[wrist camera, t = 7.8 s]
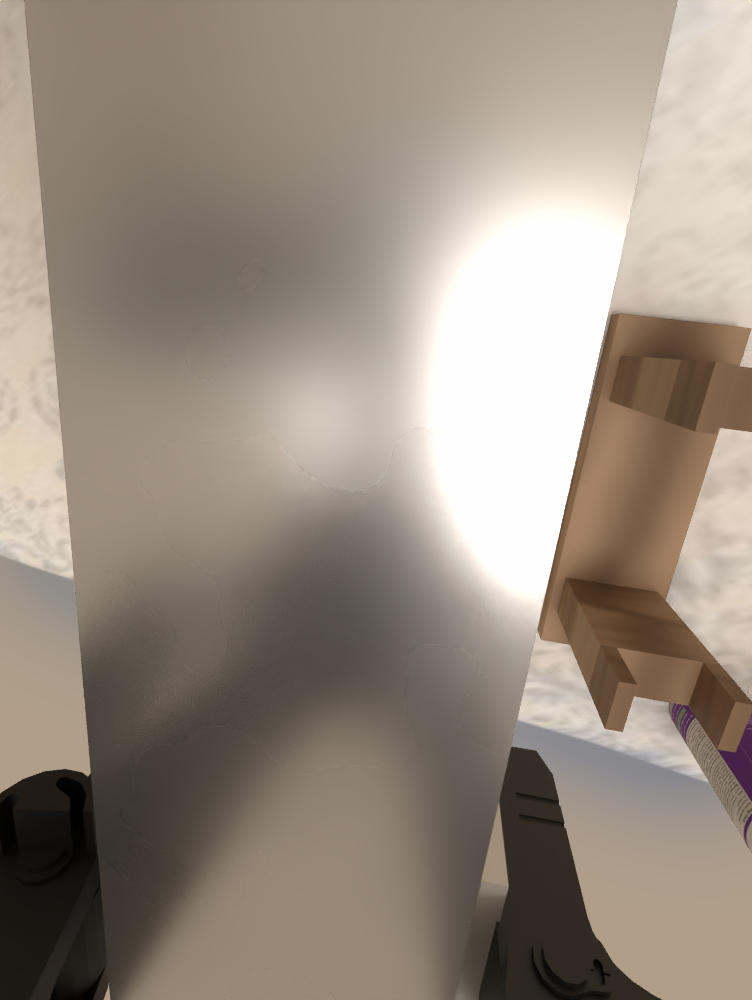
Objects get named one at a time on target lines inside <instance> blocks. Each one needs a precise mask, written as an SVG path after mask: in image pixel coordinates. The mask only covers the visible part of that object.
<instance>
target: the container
mask: <svg viewBox="0 0 752 1000" xmlns="http://www.w3.org/2000/svg"><path fill="white" fill-rule="evenodd" d="M669 712H670V716H671V719H672V720H673V722H674V724H675V726H676V727H677V729H678V731H679V732H680V734H681V736H682V737H683V739H684V741H685V743H686V744H687V746H688V748H689V749H690V751H691V753H692V754H693V756H694V758H695V759H696V761H697V763H698V764H699V766H700V768H701V769H702V771H703V773H704V774H705V776H706V778H707V779H708V781H709V783H710V784H711V786H712V788H713V789H714V791H715V793H716V794H717V796H718V798H719V799H720V801H721V802H722V804H723V806H724V808H725V809H726V811H727V813H728V814H729V816H730V818H731V819H732V821H733V823H734V824H735V826H736V828H737V829H738V831H739V833H740V834H741V836H742V838H743V839H744V841H745V843H746V844H747V846H748V848H749V849H750V851H751V853H752V713H751V715H750V718H749V720H748V723H747V725H746V728H745V730H744V733H743V735H742V738H741V740H740V742H739V745H738V747H737V750H736V752H730V751H724V750H719V749H717V748H716V747H715V745H714V744H713V742H712V741H711V739H710V738H709V736H708V735H707V733H706V732H705V730H704V729H703V727H702V726H701V724H700V723H699V721H698V720H697V718H696V717H695V715H694V714H693V712H692V711H691V709H690V708H689V706H687V705H681V704H675V703H670V705H669Z"/></svg>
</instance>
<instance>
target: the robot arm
mask: <svg viewBox="0 0 752 1000" xmlns="http://www.w3.org/2000/svg"><path fill="white" fill-rule="evenodd" d="M108 984H109V977H108V965H107V954H106V942H105V930H104V919H103V907H102V896H101V884H100V872H99V861H98V849H97V837H96V826H95V814H94V803H93V791H92V779H91V774H90V775H89V776H88V777H87V776H86V775H85V774H84V773H81V772H77V771H72V770H67V769H62V770H53V771H45V772H42V773H39V774H36V775H33V776H30V777H28V778H25V779H22V780H21V781H19V782H18V783H16V784H14V785H13V786H11V787H10V788H8V789H6V790H5V791H3V792H2V793H1V794H0V1000H103V999H104V997H105V994H106V991H107V988H108ZM455 1000H661V999H660V998H658V997H656V996H654V995H652V994H650V993H649V992H648V991H646V990H645V989H643V988H642V987H640V986H639V985H637V984H636V983H634V982H633V981H632V980H631V979H629V978H628V977H627V976H626V975H625V974H624V973H623V972H622V971H621V970H620V969H619V968H618V967H617V966H616V965H615V964H614V963H613V962H612V960H611V958H610V957H609V955H608V953H607V952H606V950H605V948H604V947H603V945H602V944H601V942H600V941H599V940H598V939H597V938H596V937H595V935H594V933H593V931H592V929H591V925H590V922H589V920H588V917H587V913H586V909H585V905H584V901H583V897H582V893H581V889H580V885H579V881H578V877H577V873H576V869H575V864H574V860H573V856H572V852H571V848H570V844H569V840H568V835H567V831H566V828H564V819H563V815H562V811H561V807H560V806H559V799H558V794H557V790H556V786H555V782H554V778H553V775H552V773H551V772H550V770H549V769H548V767H547V766H546V764H545V763H544V761H543V760H542V759H541V757H540V756H539V754H538V753H537V751H534V750H528V749H523V748H517V747H511V750H510V754H509V758H508V763H507V767H506V772H505V776H504V781H503V785H502V790H501V794H500V799H499V803H498V808H497V812H496V817H495V821H494V826H493V830H492V835H491V839H490V844H489V848H488V853H487V857H486V862H485V866H484V871H483V875H482V879H481V884H480V888H479V893H478V897H477V902H476V906H475V911H474V915H473V920H472V924H471V929H470V933H469V938H468V942H467V947H466V951H465V956H464V960H463V965H462V969H461V974H460V978H459V983H458V987H457V991H456V996H455Z"/></svg>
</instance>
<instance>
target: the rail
mask: <svg viewBox="0 0 752 1000" xmlns="http://www.w3.org/2000/svg"><path fill="white" fill-rule="evenodd" d="M677 1H678V0H24V2H25V14H26V25H27V37H28V49H29V60H30V72H31V83H32V95H33V107H34V118H35V130H36V141H37V153H38V165H39V176H40V188H41V199H42V211H43V223H44V234H45V246H46V257H47V269H48V281H49V292H50V304H51V315H52V327H53V339H54V350H55V362H56V373H57V385H58V397H59V408H60V420H61V431H62V443H63V455H64V466H65V478H66V489H67V501H68V513H69V524H70V536H71V547H72V559H73V571H74V582H75V594H76V604H77V617H78V628H79V639H80V652H81V663H82V675H83V686H84V698H85V710H86V721H87V733H88V743H89V744H88V745H89V756H90V768H91V779H92V791H93V803H94V814H95V826H96V837H97V849H98V861H99V872H100V884H101V896H102V907H103V919H104V930H105V942H106V954H107V965H108V977H109V988H110V999H111V1000H455V996H456V991H457V987H458V983H459V978H460V974H461V969H462V965H463V960H464V956H465V951H466V947H467V942H468V938H469V933H470V929H471V924H472V920H473V915H474V911H475V906H476V902H477V897H478V893H479V888H480V884H481V879H482V875H483V871H484V866H485V862H486V857H487V853H488V848H489V844H490V839H491V835H492V830H493V826H494V821H495V817H496V812H497V808H498V803H499V799H500V794H501V790H502V785H503V781H504V776H505V772H506V767H507V763H508V758H509V754H510V750H511V745H512V741H513V736H514V732H515V727H516V722H517V718H518V714H519V709H520V705H521V700H522V696H523V691H524V687H525V682H526V678H527V673H528V669H529V664H530V660H531V655H532V651H533V646H534V642H535V637H536V633H537V629H538V624H539V620H540V615H541V611H542V606H543V602H544V597H545V593H546V588H547V584H548V579H549V575H550V570H551V566H552V561H553V557H554V552H555V548H556V543H557V539H558V534H559V530H560V525H561V521H562V517H563V512H564V508H565V503H566V499H567V494H568V490H569V485H570V481H571V476H572V472H573V467H574V463H575V458H576V454H577V449H578V445H579V440H580V436H581V431H582V427H583V422H584V418H585V413H586V409H587V404H588V400H589V396H590V391H591V387H592V382H593V378H594V373H595V369H596V364H597V360H598V355H599V351H600V346H601V342H602V337H603V333H604V328H605V324H606V319H607V315H608V310H609V306H610V301H611V297H612V292H613V288H614V283H615V279H616V275H617V270H618V266H619V261H620V257H621V252H622V248H623V243H624V239H625V234H626V230H627V225H628V221H629V216H630V212H631V207H632V203H633V198H634V194H635V189H636V185H637V180H638V176H639V171H640V167H641V163H642V158H643V154H644V149H645V145H646V140H647V136H648V131H649V127H650V122H651V118H652V113H653V109H654V104H655V100H656V95H657V91H658V86H659V82H660V77H661V73H662V68H663V64H664V59H665V55H666V50H667V46H668V42H669V37H670V33H671V28H672V24H673V19H674V15H675V10H676V6H677Z"/></svg>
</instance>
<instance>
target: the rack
mask: <svg viewBox="0 0 752 1000" xmlns="http://www.w3.org/2000/svg"><path fill="white" fill-rule="evenodd" d="M750 331H751V328H743V327H734V326H725V325H716V324H707V323H698V322H690V321H681V320H672V319H663V318H654V317H645V316H636V315H627V314H615V315H612V316H611V320H610V324H609V329H608V333H607V337H606V341H605V345H604V350H603V354H602V358H601V362H600V366H599V371H598V375H597V379H596V383H595V387H594V392H593V396H592V400H591V404H590V409H589V413H588V417H587V421H586V425H585V430H584V434H583V438H582V442H581V446H580V451H579V455H578V459H577V463H576V467H575V472H574V476H573V480H572V484H571V488H570V493H569V497H568V501H567V505H566V509H565V514H564V518H563V522H562V526H561V530H560V535H559V539H558V543H557V547H556V551H555V556H554V560H553V564H552V568H551V572H550V577H549V581H548V585H547V589H546V593H545V598H544V602H543V606H542V611H541V615H540V620H539V624H538V632H539V635H540V638H541V640H546V641H552V642H558V643H564V644H569V645H571V648H572V650H573V653H574V655H575V658H576V660H577V662H578V665H579V667H580V670H581V672H582V675H583V677H584V679H585V682H586V684H587V687H588V689H589V692H590V694H591V696H592V699H593V701H594V704H595V706H596V709H597V711H598V713H599V716H600V718H601V721H602V723H603V726H604V728H605V729H609V730H614V731H620V732H623V729H624V726H625V723H626V719H627V716H628V713H629V710H630V707H631V704H632V700H633V697H634V696H636V697H641V698H647V699H653V700H658V701H664V702H670V703H675V704H681V705H687V706H689V708H690V709H691V711H692V712H693V714H694V715H695V717H696V718H697V720H698V721H699V723H700V724H701V726H702V727H703V729H704V730H705V732H706V733H707V735H708V736H709V738H710V739H711V741H712V742H713V744H714V745H715V747H716V748H717V749H719V750H724V751H730V752H736V750H737V747H738V745H739V742H740V740H741V738H742V735H743V733H744V730H745V728H746V725H747V723H748V720H749V718H750V715H751V713H752V702H751V700H750V699H749V698H748V697H747V696H746V695H745V693H744V692H743V691H742V690H741V689H740V688H739V686H738V685H737V684H736V683H735V682H734V681H733V679H732V678H731V677H730V676H729V675H728V674H727V672H726V671H725V670H724V669H723V668H722V666H721V665H720V664H719V663H718V662H717V661H716V659H715V658H714V657H713V656H712V655H711V654H710V652H709V651H708V650H707V649H706V648H705V647H704V645H703V644H702V643H701V642H700V641H699V640H698V638H697V637H696V636H695V635H694V634H693V632H692V631H691V630H690V629H689V628H688V627H687V625H686V624H685V623H684V622H683V621H682V620H681V618H680V617H679V616H678V615H677V614H676V613H675V611H674V610H673V609H672V608H671V607H670V606H669V604H668V603H667V602H666V601H665V600H666V597H667V593H668V590H669V587H670V584H671V581H672V578H673V575H674V571H675V568H676V565H677V562H678V559H679V556H680V552H681V549H682V546H683V543H684V540H685V537H686V534H687V530H688V527H689V524H690V521H691V518H692V515H693V511H694V508H695V505H696V502H697V499H698V496H699V492H700V489H701V486H702V483H703V480H704V477H705V474H706V470H707V467H708V464H709V461H710V458H711V455H712V451H713V448H714V445H715V442H716V439H717V436H718V432H719V429H720V428H725V429H733V430H741V431H748V432H752V368H747V367H739V366H740V363H741V360H742V357H743V354H744V350H745V347H746V344H747V341H748V338H749V335H750Z"/></svg>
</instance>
